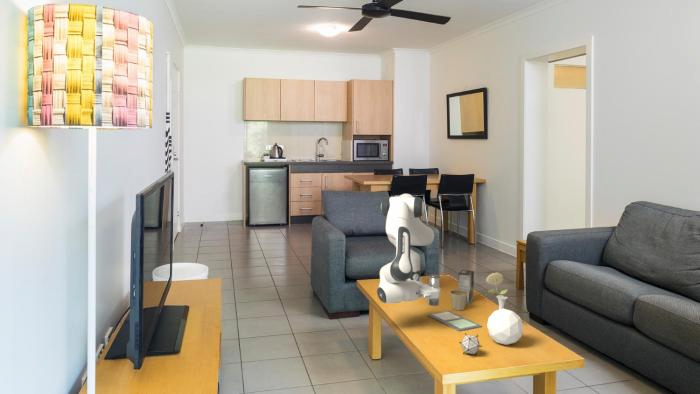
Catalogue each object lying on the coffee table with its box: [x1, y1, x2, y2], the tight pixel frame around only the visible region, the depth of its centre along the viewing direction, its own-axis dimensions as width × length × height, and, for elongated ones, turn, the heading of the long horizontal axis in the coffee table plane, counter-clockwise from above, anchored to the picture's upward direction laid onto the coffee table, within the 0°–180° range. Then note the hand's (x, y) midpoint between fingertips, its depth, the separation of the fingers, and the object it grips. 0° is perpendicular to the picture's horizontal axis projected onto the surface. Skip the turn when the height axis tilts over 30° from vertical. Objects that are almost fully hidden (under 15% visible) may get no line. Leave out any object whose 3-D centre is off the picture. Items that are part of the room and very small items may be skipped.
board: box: [427, 310, 483, 332], centre depth 243 cm, size 24×13×1 cm, turn 27°
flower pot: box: [449, 289, 468, 312], centre depth 262 cm, size 9×9×9 cm
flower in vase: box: [485, 272, 508, 310], centre depth 237 cm, size 13×11×25 cm
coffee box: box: [457, 269, 475, 305], centre depth 275 cm, size 9×6×16 cm
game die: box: [458, 332, 483, 357], centre depth 204 cm, size 9×8×10 cm
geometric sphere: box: [486, 308, 524, 346], centre depth 216 cm, size 14×15×15 cm
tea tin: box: [428, 273, 441, 307], centre depth 239 cm, size 5×5×14 cm
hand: (435, 287), depth 240 cm, fingers closed on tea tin, 5 cm apart
